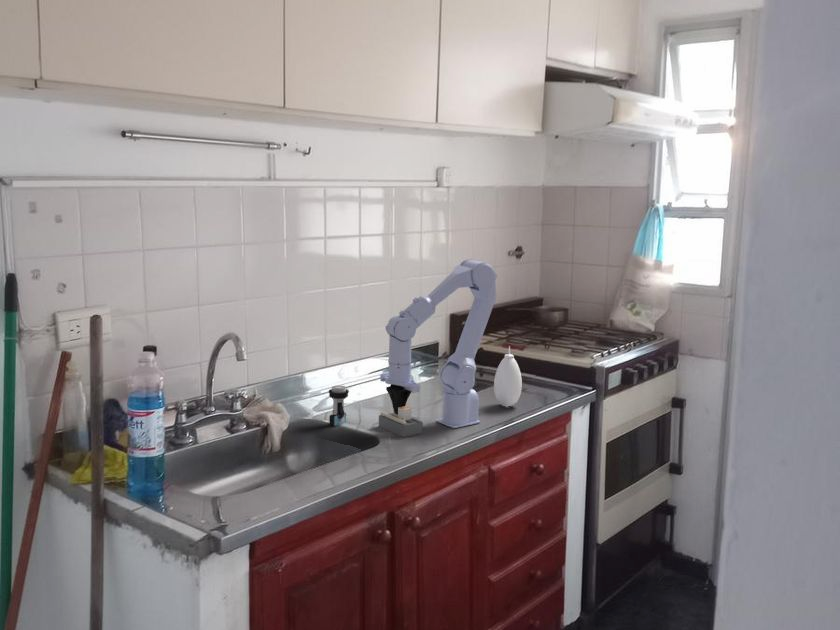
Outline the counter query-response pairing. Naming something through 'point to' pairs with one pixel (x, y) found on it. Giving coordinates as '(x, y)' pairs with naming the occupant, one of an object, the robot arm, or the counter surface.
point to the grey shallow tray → (400, 424)
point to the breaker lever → (404, 413)
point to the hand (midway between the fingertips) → (398, 413)
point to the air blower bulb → (508, 381)
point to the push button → (338, 405)
